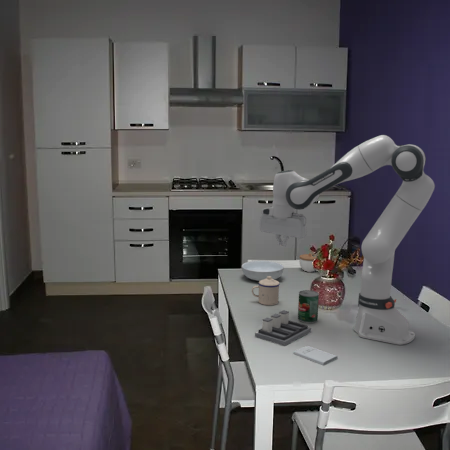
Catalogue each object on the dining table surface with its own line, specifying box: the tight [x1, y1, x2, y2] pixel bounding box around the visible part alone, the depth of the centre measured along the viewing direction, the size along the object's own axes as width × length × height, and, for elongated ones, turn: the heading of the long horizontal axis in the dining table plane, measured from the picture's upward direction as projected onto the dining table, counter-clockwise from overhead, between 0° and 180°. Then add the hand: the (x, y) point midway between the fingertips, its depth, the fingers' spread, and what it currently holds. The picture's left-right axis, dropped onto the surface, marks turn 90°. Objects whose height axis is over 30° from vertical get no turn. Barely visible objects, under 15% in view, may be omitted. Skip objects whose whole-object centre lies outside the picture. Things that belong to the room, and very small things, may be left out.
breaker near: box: [278, 309, 290, 324], centre depth 217 cm, size 2×3×5 cm
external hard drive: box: [292, 344, 339, 366], centre depth 193 cm, size 2×8×12 cm
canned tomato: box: [297, 289, 320, 324], centre depth 227 cm, size 8×8×11 cm
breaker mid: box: [270, 313, 281, 328], centre depth 213 cm, size 2×3×5 cm
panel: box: [254, 320, 312, 347], centre depth 211 cm, size 13×18×2 cm
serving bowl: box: [241, 260, 285, 282], centre depth 283 cm, size 21×21×7 cm
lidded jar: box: [298, 252, 316, 273], centre depth 300 cm, size 11×11×9 cm
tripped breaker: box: [261, 316, 273, 332], centre depth 209 cm, size 2×3×5 cm
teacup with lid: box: [251, 276, 281, 306], centre depth 247 cm, size 12×9×12 cm
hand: (281, 245), depth 226 cm, fingers closed
